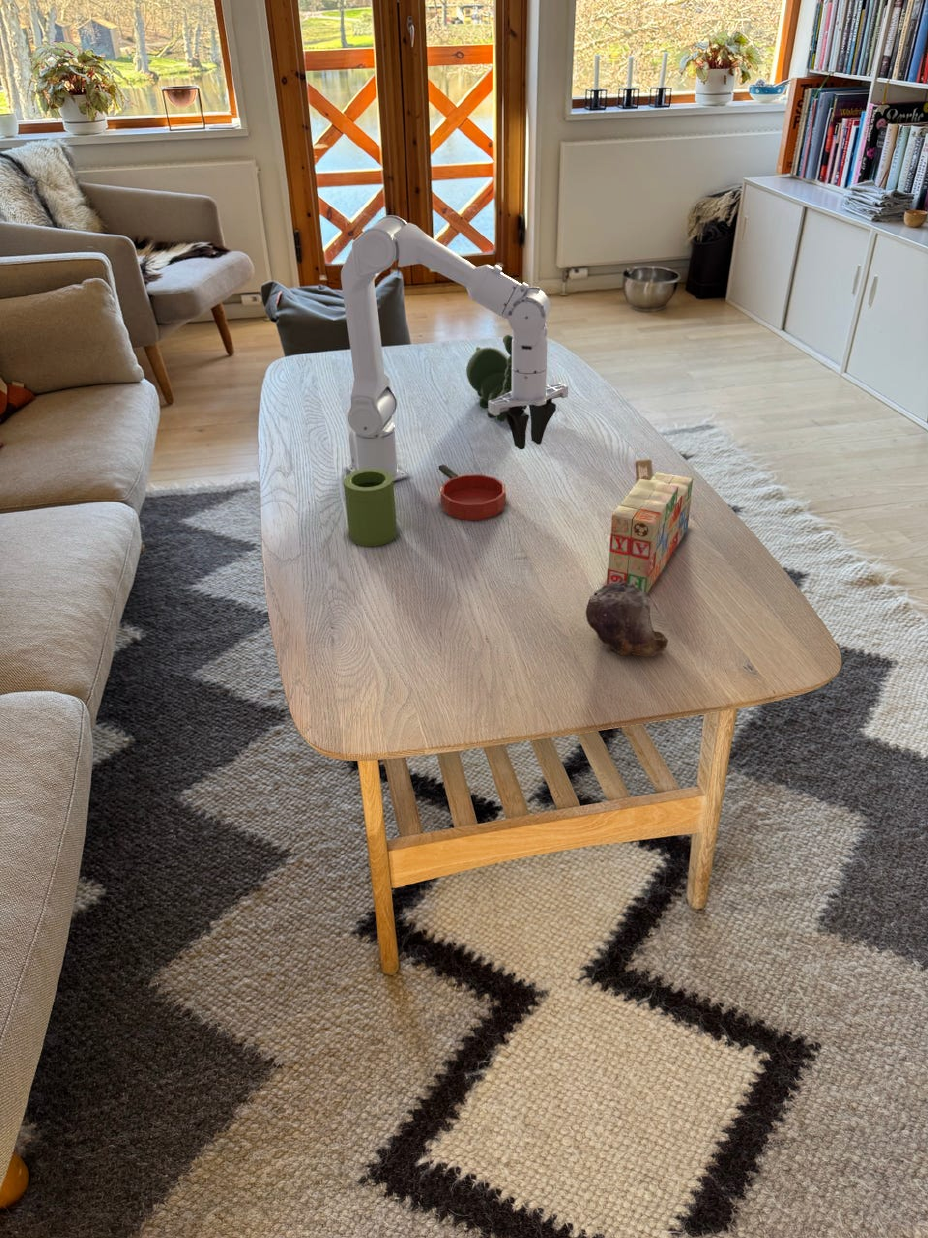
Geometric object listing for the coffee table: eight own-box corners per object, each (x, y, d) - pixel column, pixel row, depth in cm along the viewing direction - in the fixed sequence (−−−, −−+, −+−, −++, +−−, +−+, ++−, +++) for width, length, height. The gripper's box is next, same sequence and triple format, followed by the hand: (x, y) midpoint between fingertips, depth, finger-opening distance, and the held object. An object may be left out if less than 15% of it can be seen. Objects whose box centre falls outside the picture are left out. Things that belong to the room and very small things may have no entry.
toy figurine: (538, 434, 189) (497, 380, 207) (543, 344, 176) (499, 295, 195) (493, 441, 186) (456, 386, 205) (496, 351, 174) (456, 301, 192)
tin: (654, 539, 151) (658, 492, 146) (634, 538, 151) (638, 491, 147) (650, 495, 163) (654, 450, 158) (631, 494, 164) (635, 450, 159)
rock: (636, 623, 134) (570, 635, 132) (638, 568, 131) (571, 579, 128) (676, 659, 124) (606, 673, 122) (679, 601, 121) (607, 614, 118)
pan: (517, 509, 160) (517, 493, 159) (461, 526, 156) (461, 510, 154) (468, 471, 172) (467, 456, 171) (414, 486, 168) (413, 471, 166)
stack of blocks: (651, 521, 156) (658, 453, 149) (688, 529, 153) (697, 460, 146) (605, 586, 140) (611, 513, 133) (646, 596, 138) (654, 522, 131)
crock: (341, 530, 156) (335, 475, 150) (384, 518, 159) (379, 464, 153) (361, 551, 150) (356, 495, 144) (405, 538, 153) (401, 482, 148)
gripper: (504, 384, 148) (504, 463, 156) (580, 366, 154) (576, 443, 161) (481, 370, 153) (482, 448, 161) (555, 353, 159) (553, 428, 167)
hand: (528, 444), depth 162 cm, fingers open, 3 cm apart
